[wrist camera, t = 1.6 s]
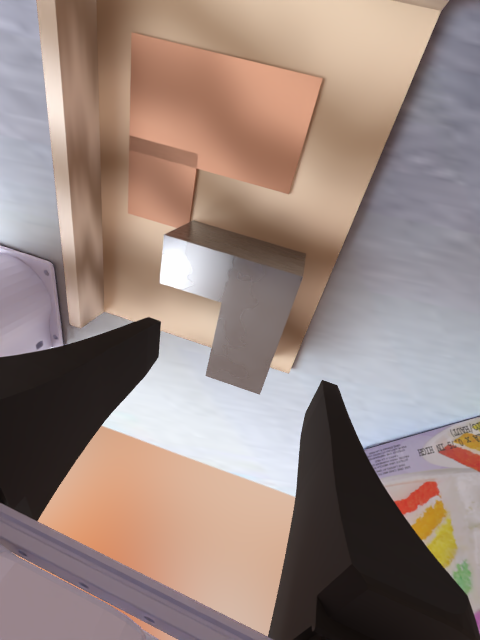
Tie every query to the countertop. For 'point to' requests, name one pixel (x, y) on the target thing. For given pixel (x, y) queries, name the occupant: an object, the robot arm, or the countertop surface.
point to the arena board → (216, 137)
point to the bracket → (236, 294)
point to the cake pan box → (439, 495)
